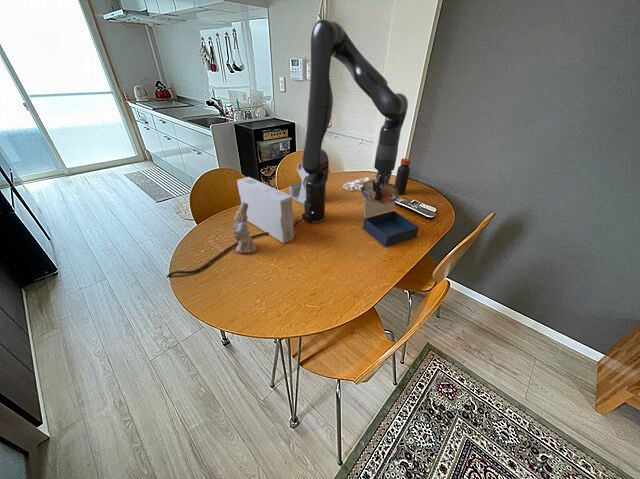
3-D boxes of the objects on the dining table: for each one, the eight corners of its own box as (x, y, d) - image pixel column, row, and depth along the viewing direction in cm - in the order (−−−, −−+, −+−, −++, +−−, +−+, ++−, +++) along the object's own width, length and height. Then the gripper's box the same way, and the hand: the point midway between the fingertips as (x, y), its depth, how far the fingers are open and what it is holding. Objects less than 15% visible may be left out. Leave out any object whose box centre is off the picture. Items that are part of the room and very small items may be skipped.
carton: (385, 247, 109) (387, 236, 106) (362, 228, 121) (364, 218, 118) (416, 236, 116) (419, 226, 113) (392, 220, 128) (394, 210, 125)
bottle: (395, 189, 158) (402, 157, 147) (406, 192, 155) (413, 159, 144) (391, 193, 154) (397, 159, 142) (402, 196, 151) (409, 162, 139)
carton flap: (364, 200, 114) (364, 199, 114) (364, 217, 117) (364, 217, 118) (395, 193, 121) (395, 192, 121) (394, 209, 124) (393, 209, 124)
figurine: (256, 241, 110) (250, 199, 99) (257, 253, 104) (250, 209, 92) (235, 244, 109) (226, 201, 97) (234, 256, 102) (224, 212, 91)
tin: (360, 198, 107) (362, 179, 102) (363, 195, 109) (365, 176, 104) (394, 208, 101) (398, 188, 96) (397, 204, 103) (401, 185, 98)
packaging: (294, 237, 113) (292, 196, 102) (283, 243, 110) (280, 201, 98) (253, 214, 130) (248, 176, 119) (243, 218, 127) (236, 179, 115)
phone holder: (287, 196, 148) (285, 165, 138) (301, 191, 154) (300, 161, 144) (306, 206, 138) (306, 174, 128) (320, 201, 144) (321, 169, 133)
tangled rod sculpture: (348, 195, 152) (349, 189, 150) (340, 184, 163) (340, 178, 160) (378, 191, 157) (379, 185, 154) (367, 180, 167) (368, 175, 165)
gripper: (383, 149, 101) (377, 190, 111) (368, 158, 91) (362, 202, 101) (402, 153, 97) (394, 195, 107) (388, 163, 88) (380, 208, 98)
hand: (378, 198), depth 104 cm, fingers closed on tin, 2 cm apart
